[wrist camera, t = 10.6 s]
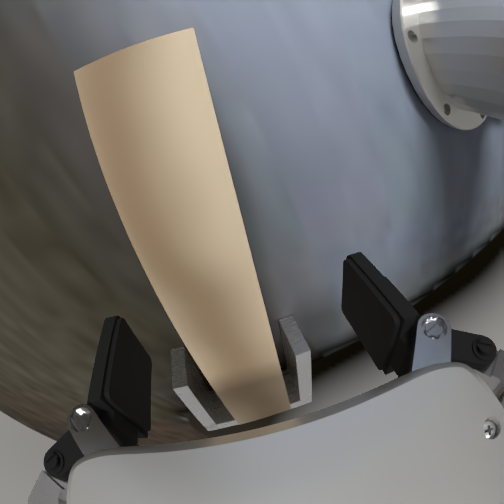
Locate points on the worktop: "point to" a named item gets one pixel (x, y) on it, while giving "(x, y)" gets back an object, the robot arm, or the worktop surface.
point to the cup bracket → (210, 405)
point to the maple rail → (184, 212)
